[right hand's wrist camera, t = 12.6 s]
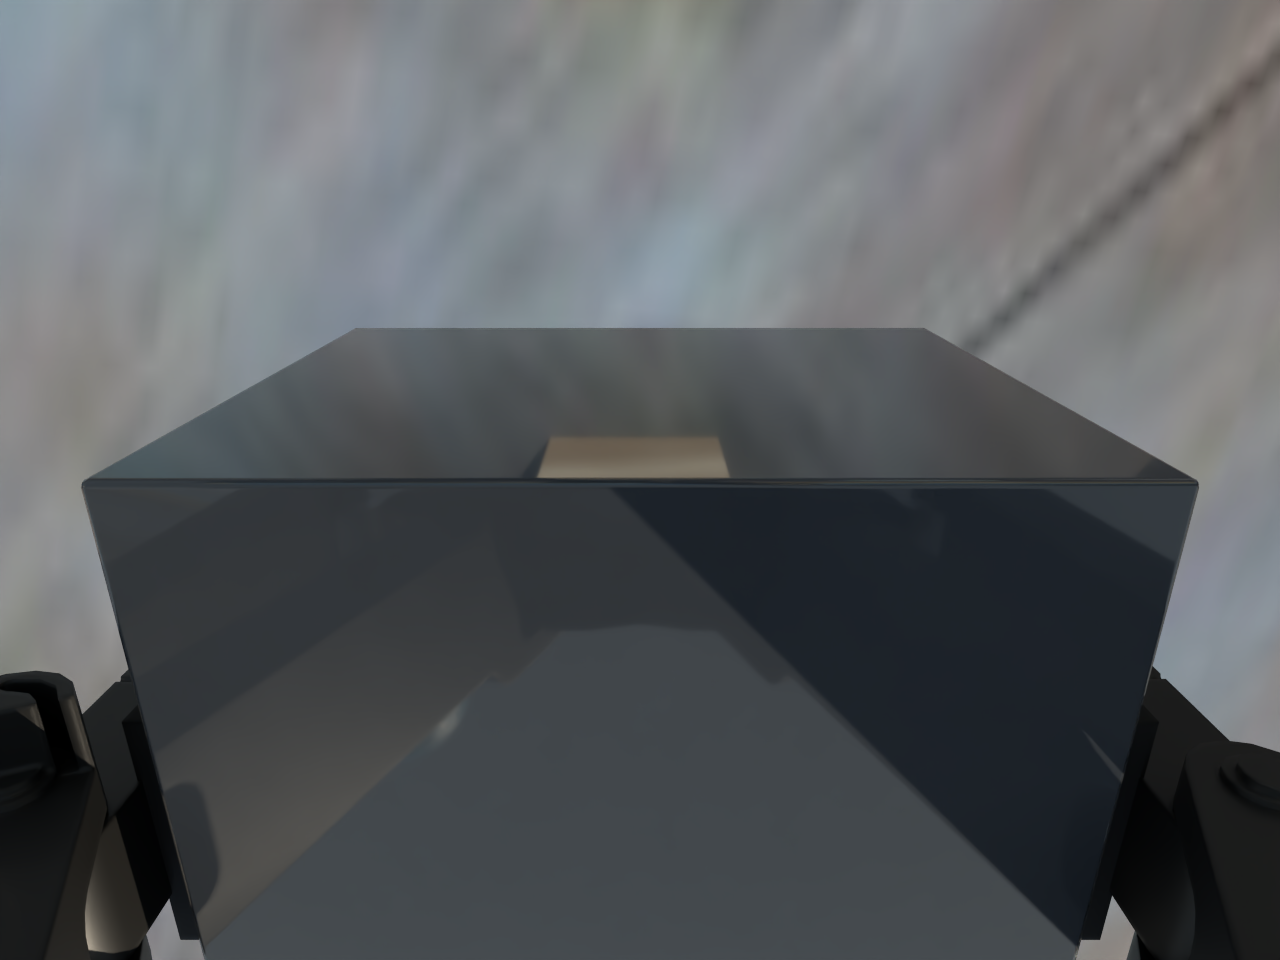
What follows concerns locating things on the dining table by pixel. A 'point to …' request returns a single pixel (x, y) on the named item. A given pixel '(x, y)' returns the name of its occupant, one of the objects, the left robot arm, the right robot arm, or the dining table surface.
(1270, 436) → the dining table surface
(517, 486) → the slate block
